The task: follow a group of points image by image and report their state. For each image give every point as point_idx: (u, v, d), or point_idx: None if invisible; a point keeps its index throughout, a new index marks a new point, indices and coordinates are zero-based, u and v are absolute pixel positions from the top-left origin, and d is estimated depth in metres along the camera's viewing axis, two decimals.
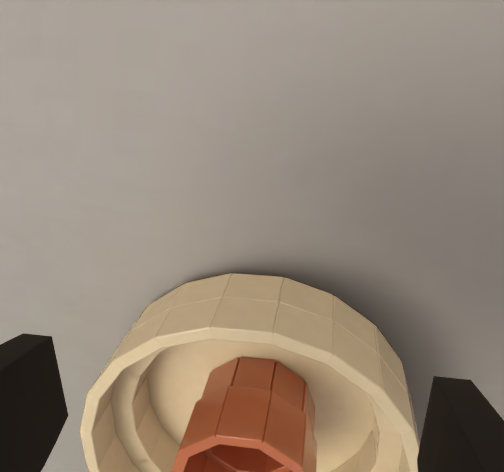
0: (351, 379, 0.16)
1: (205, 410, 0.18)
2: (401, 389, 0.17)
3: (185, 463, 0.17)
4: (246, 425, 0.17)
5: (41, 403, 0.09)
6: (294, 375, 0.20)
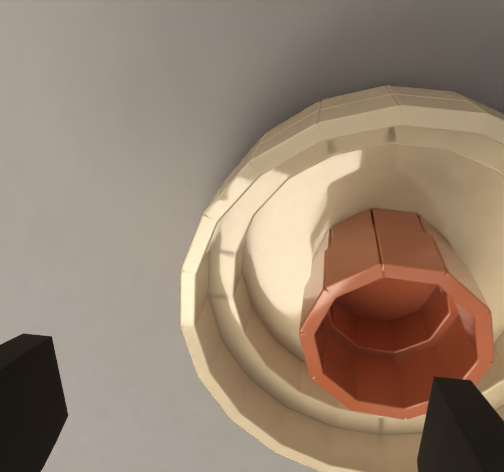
0: (290, 154, 0.13)
1: None
2: (374, 99, 0.13)
3: (330, 381, 0.14)
4: (314, 295, 0.14)
5: (41, 403, 0.09)
6: (355, 216, 0.17)
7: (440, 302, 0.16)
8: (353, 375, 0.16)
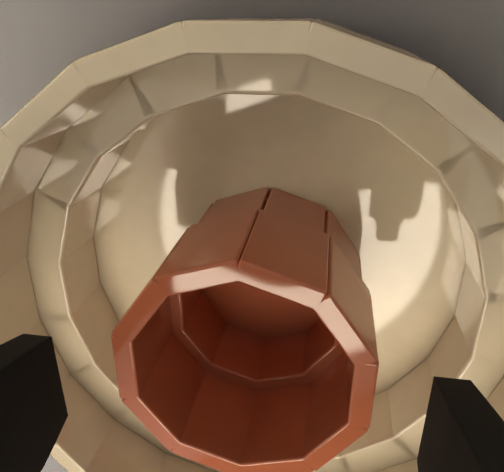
0: None
1: None
2: None
3: (194, 448, 0.10)
4: None
5: (41, 403, 0.09)
6: (199, 219, 0.13)
7: None
8: (243, 425, 0.11)
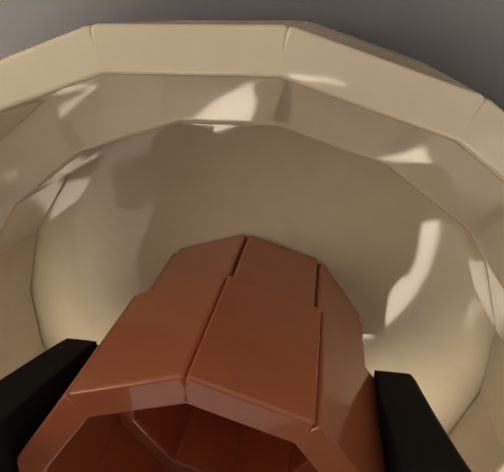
0: None
1: None
2: None
3: None
4: None
5: None
6: (158, 273, 0.10)
7: None
8: None
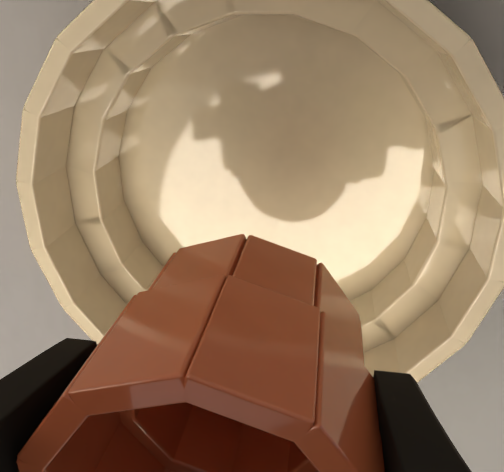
0: (51, 81, 0.12)
1: None
2: None
3: None
4: None
5: None
6: (158, 272, 0.10)
7: None
8: None
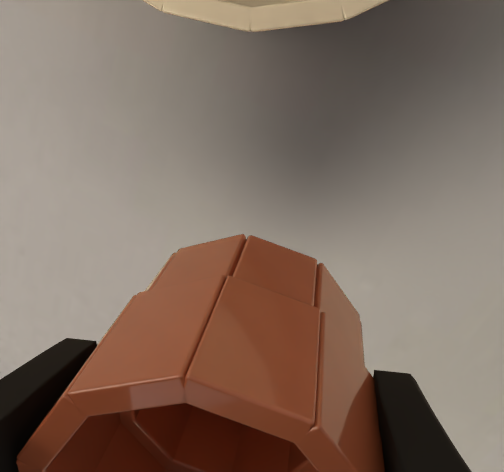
0: None
1: None
2: None
3: None
4: None
5: None
6: (158, 272, 0.10)
7: None
8: None
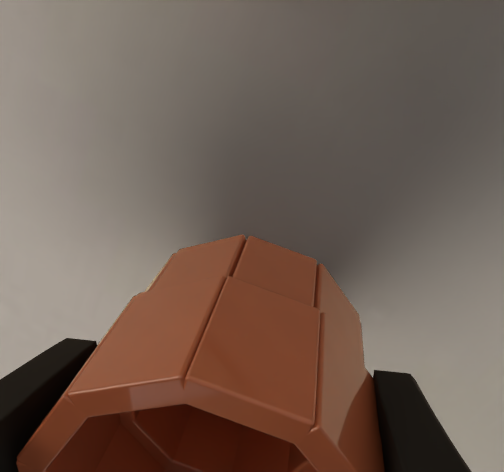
0: None
1: None
2: None
3: None
4: None
5: None
6: (158, 273, 0.10)
7: None
8: None
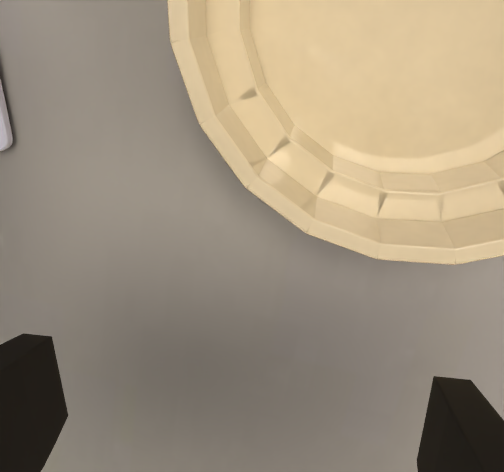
0: None
1: None
2: None
3: None
4: None
5: (41, 403, 0.09)
6: None
7: None
8: None
